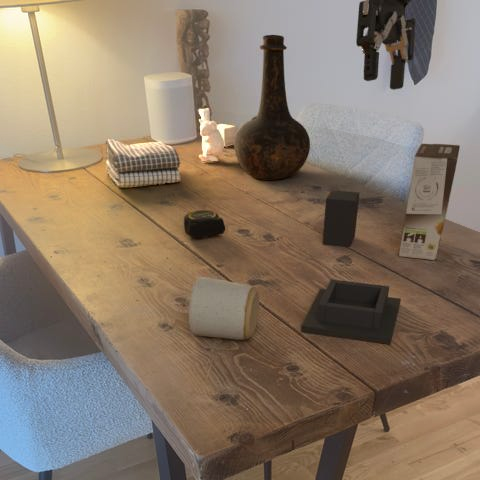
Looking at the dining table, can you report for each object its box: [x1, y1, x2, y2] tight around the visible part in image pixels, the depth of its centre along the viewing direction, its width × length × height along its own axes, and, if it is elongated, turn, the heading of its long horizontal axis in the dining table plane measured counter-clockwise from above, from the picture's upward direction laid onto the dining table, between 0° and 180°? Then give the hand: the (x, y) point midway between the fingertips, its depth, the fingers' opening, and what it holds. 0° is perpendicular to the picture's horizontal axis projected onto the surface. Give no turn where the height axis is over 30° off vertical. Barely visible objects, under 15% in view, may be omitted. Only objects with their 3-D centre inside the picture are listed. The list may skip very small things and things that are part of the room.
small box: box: [217, 123, 238, 146], centre depth 160 cm, size 6×6×5 cm
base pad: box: [300, 278, 402, 346], centre depth 79 cm, size 12×12×4 cm
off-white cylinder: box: [188, 276, 260, 341], centre depth 76 cm, size 11×8×8 cm
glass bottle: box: [233, 34, 311, 181], centre depth 128 cm, size 18×18×28 cm
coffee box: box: [398, 143, 461, 261], centre depth 94 cm, size 9×6×16 cm
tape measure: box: [183, 209, 226, 239], centre depth 105 cm, size 7×7×4 cm
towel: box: [105, 138, 181, 189], centre depth 134 cm, size 15×18×8 cm
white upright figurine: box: [197, 107, 225, 162], centre depth 144 cm, size 8×7×12 cm
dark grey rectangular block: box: [322, 189, 361, 248], centre depth 100 cm, size 5×5×8 cm
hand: (383, 84), depth 94 cm, fingers open, 8 cm apart
